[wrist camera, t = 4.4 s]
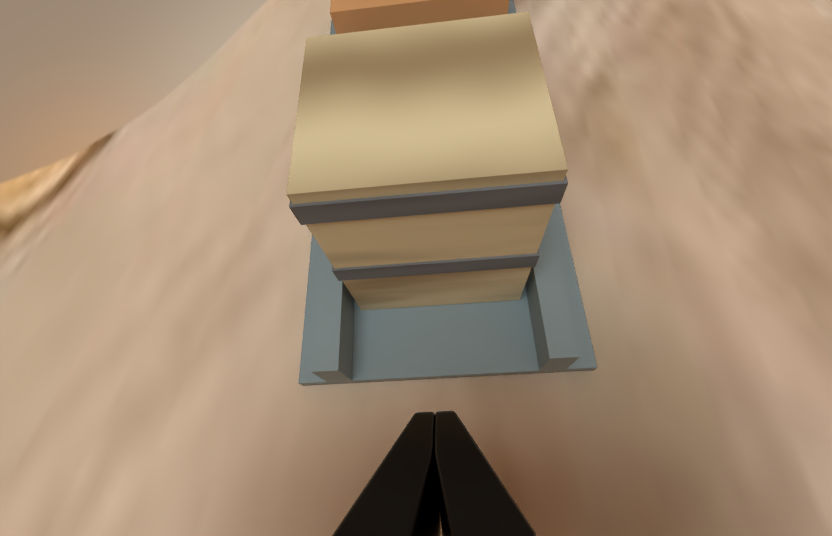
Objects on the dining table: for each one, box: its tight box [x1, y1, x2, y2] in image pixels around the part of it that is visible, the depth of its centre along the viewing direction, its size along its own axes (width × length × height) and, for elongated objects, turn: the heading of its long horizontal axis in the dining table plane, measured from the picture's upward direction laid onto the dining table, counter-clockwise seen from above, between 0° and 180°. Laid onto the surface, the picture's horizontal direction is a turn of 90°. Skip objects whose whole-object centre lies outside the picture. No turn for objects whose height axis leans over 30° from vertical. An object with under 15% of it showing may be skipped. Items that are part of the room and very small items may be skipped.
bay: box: [299, 0, 597, 386], centre depth 21 cm, size 29×15×10 cm, turn 2°
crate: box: [286, 12, 568, 310], centre depth 17 cm, size 7×8×10 cm
